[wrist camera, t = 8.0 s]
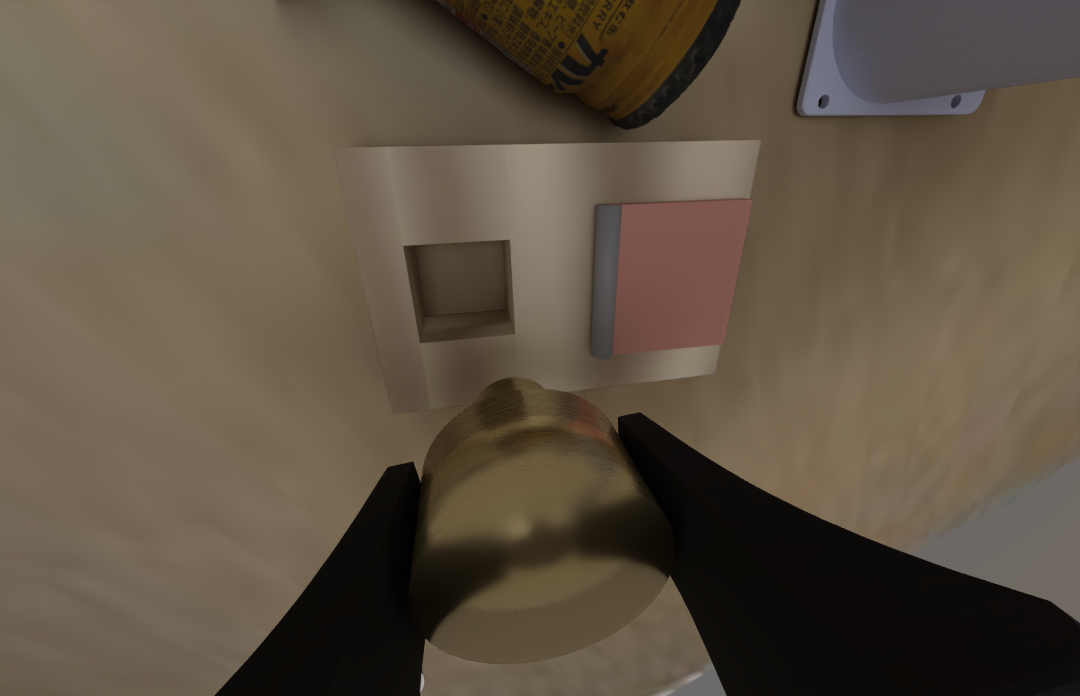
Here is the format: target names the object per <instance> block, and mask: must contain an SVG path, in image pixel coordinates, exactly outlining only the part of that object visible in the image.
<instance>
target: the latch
mask: <svg viewBox="0 0 1080 696" xmlns="http://www.w3.org/2000/svg"><path fill="white" fill-rule="evenodd" d="M752 203H753V199H745V198H736V199H712V200H688V201H663V202H639V203H615V204H599V205H597V210H596V236H595V262H594V289H593V315H592V341H591V355H592V357H594V358H597V359H608V358H611V357H612V355H618V354H628V353H639V352H649V351H660V350H670V349H680V348H691V347H701V346H712V345H722V344H724V341H725V336H726V331H727V326H728V321H729V316H730V312H731V307H732V302H733V297H734V292H735V287H736V282H737V277H738V272H739V267H740V262H741V257H742V252H743V247H744V242H745V237H746V232H747V227H748V222H749V217H750V212H751V208H752Z"/></svg>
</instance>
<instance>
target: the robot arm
mask: <svg viewBox="0 0 1080 696" xmlns="http://www.w3.org/2000/svg"><path fill="white" fill-rule="evenodd" d="M1076 77H1080V0H820V3H819V8H818V12H817V17H816V21H815V26H814V30H813V34H812V39H811V43H810V48H809V52H808V57H807V61H806V66H805V70H804V74H803V79H802V83H801V88H800V92H799V97H798V101H797V111H798V113H799V114H800V115H802V116H893V115H965V114H970V113H972V112H974V111H975V110H976V109H977V108H978V107H979V105H980V103H981V101H982V99H983V96H984V94H985V91H986V90H990V89H997V88H1005V87H1012V86H1019V85H1026V84H1033V83H1040V82H1048V81H1055V80H1062V79H1069V78H1076ZM820 97H821V99H822V103H821V105H820V107H819V106H818V101H819V99H820ZM618 435H619V437H620V439H621V441H622V442H623V444H624V446H625V448H626V449H627V451H628V453H629V454H630V456H631V458H632V460H633V461H634V463H635V465H636V467H637V468H638V470H639V472H640V473H641V475H642V477H643V479H644V480H645V482H646V484H647V486H648V487H649V489H650V491H651V492H652V494H653V496H654V498H655V499H656V501H657V503H658V505H659V506H660V508H661V510H662V511H663V513H664V515H665V517H666V518H667V520H668V522H669V524H670V526H671V528H672V530H673V534H674V537H675V546H676V552H675V560H674V564H673V567H672V571H671V573H670V576H671V578H672V580H673V581H674V583H675V585H676V587H677V588H678V590H679V592H680V594H681V596H682V598H683V600H684V602H685V604H686V606H687V608H688V610H689V612H690V614H691V616H692V618H693V620H694V623H695V625H696V627H697V629H698V631H699V634H700V636H701V638H702V640H703V643H704V645H705V647H706V649H707V651H708V654H709V656H710V658H711V660H712V663H713V665H714V667H715V670H716V672H717V674H718V676H719V679H720V681H721V684H722V686H723V688H724V691H725V693H726V695H727V696H1080V623H1079V622H1078V621H1076V620H1075V619H1073V618H1072V617H1071V616H1069V615H1068V614H1067V613H1065V612H1064V611H1063V610H1061V609H1060V608H1059V607H1057V606H1056V605H1055V604H1053V603H1052V602H1050V601H1048V600H1045V599H1042V598H1038V597H1035V596H1032V595H1029V594H1026V593H1022V592H1019V591H1016V590H1013V589H1010V588H1007V587H1004V586H1001V585H998V584H995V583H991V582H988V581H985V580H982V579H979V578H976V577H973V576H969V575H966V574H963V573H960V572H957V571H954V570H951V569H948V568H945V567H942V566H940V565H937V564H934V563H931V562H928V561H926V560H923V559H920V558H918V557H915V556H912V555H909V554H907V553H904V552H901V551H898V550H896V549H893V548H891V547H888V546H885V545H883V544H880V543H878V542H875V541H873V540H870V539H868V538H865V537H863V536H860V535H858V534H856V533H853V532H851V531H849V530H846V529H844V528H842V527H839V526H837V525H835V524H832V523H830V522H828V521H825V520H823V519H821V518H819V517H816V516H814V515H812V514H810V513H808V512H806V511H803V510H801V509H799V508H797V507H795V506H793V505H791V504H789V503H787V502H785V501H783V500H781V499H779V498H777V497H775V496H773V495H771V494H769V493H767V492H765V491H764V490H762V489H760V488H758V487H756V486H754V485H752V484H751V483H749V482H747V481H745V480H744V479H742V478H740V477H738V476H737V475H735V474H733V473H732V472H730V471H728V470H726V469H725V468H723V467H721V466H720V465H718V464H716V463H715V462H713V461H712V460H710V459H708V458H707V457H705V456H704V455H702V454H701V453H699V452H697V451H696V450H694V449H693V448H691V447H690V446H688V445H687V444H685V443H684V442H682V441H681V440H679V439H678V438H676V437H675V436H674V435H672V434H671V433H669V432H668V431H666V430H665V429H663V428H662V427H661V426H659V425H658V424H656V423H655V422H653V421H652V420H651V419H649V418H648V417H646V416H645V415H643V414H642V413H640V412H639V413H634V414H630V415H625V416H620V417H618ZM420 487H421V483H420V480H419V477H418V474H417V471H416V468H415V465H414V462H409V463H405V464H400V465H395V466H391V467H388V468H387V469H386V471H385V472H384V474H383V475H382V477H381V478H380V480H379V481H378V483H377V485H376V486H375V488H374V489H373V491H372V493H371V494H370V496H369V497H368V499H367V500H366V502H365V504H364V505H363V507H362V508H361V510H360V511H359V513H358V515H357V516H356V518H355V519H354V521H353V522H352V524H351V525H350V527H349V528H348V530H347V531H346V533H345V534H344V536H343V537H342V538H341V540H340V541H339V543H338V544H337V546H336V547H335V549H334V550H333V552H332V553H331V555H330V556H329V557H328V559H327V560H326V561H325V563H324V564H323V565H322V567H321V568H320V570H319V571H318V572H317V574H316V575H315V576H314V578H313V579H312V581H311V582H310V583H309V585H308V586H307V587H306V589H305V590H304V591H303V593H302V594H301V595H300V597H299V598H298V599H297V600H296V602H295V603H294V604H293V606H292V607H291V608H290V609H289V611H288V612H287V613H286V614H285V616H284V617H283V618H282V619H281V621H280V622H279V623H278V624H277V625H276V627H275V628H274V629H273V630H272V631H271V633H270V634H269V635H268V636H267V637H266V639H265V640H264V641H263V642H262V643H261V645H260V646H259V647H258V648H257V649H256V650H255V652H254V653H253V654H252V655H251V656H250V657H249V658H248V660H247V661H246V662H245V663H244V664H243V665H242V666H241V667H240V668H239V669H238V670H237V672H236V673H235V674H234V675H233V676H232V677H231V678H230V679H229V680H228V681H227V682H226V684H225V685H224V686H223V687H222V688H221V689H220V690H219V691H218V692H217V693H216V694H215V696H420V689H421V675H422V663H423V653H424V644H425V637H424V636H423V635H422V634H421V633H420V632H419V630H418V629H417V628H416V626H415V625H414V622H413V620H412V618H411V615H410V611H409V605H408V593H409V583H410V574H411V565H412V556H413V548H414V539H415V530H416V522H417V513H418V504H419V496H420Z"/></svg>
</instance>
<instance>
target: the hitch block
mask: <svg viewBox="0 0 1080 696" xmlns="http://www.w3.org/2000/svg"><path fill="white" fill-rule="evenodd" d="M760 145H761V140H732V141H677V142H622V143H567V144H513V145H458V146H403V147H348V148H332V150H333V155H334V159H335V163H336V168H337V172H338V177H339V181H340V185H341V190H342V194H343V199H344V203H345V207H346V212H347V216H348V221H349V225H350V229H351V234H352V238H353V243H354V247H355V251H356V256H357V260H358V265H359V269H360V273H361V278H362V282H363V287H364V291H365V295H366V300H367V304H368V309H369V313H370V317H371V322H372V326H373V331H374V335H375V339H376V344H377V348H378V353H379V357H380V361H381V366H382V370H383V375H384V379H385V383H386V388H387V392H388V397H389V401H390V405H391V410H392V414H394V413H402V412H410V411H418V410H426V409H434V408H442V407H450V406H458V405H467V404H474V402H475V400H476V398H477V397H478V395H479V394H480V393H481V391H483V390H484V389H485V388H486V387H487V386H489V385H490V384H492V383H494V382H496V381H498V380H501V379H505V378H511V377H521V378H526V379H530V380H532V381H534V382H536V383H538V384H539V385H541V386H542V387H543V388H544V389H552V390H558V391H563V392H572V391H580V390H588V389H596V388H604V387H612V386H621V385H629V384H637V383H645V382H653V381H661V380H669V379H677V378H685V377H693V376H702V375H710V374H715V372H716V367H717V361H718V356H719V351H720V346H721V345H712V346H701V347H691V348H680V349H670V350H660V351H649V352H639V353H628V354H618V355H612V357H611V358H608V359H597V358H594V357H592V355H591V341H592V315H593V289H594V262H595V236H596V210H597V205H599V204H615V203H639V202H663V201H688V200H712V199H736V198H745V199H750V195H751V190H752V185H753V180H754V175H755V170H756V165H757V160H758V155H759V150H760ZM496 240H503V253H504V269H505V284H506V300H507V310H499V311H488V312H476V313H464V314H453V315H441V316H430V317H425V311H424V304H423V298H422V292H421V286H420V280H419V273H418V267H417V261H416V255H415V249H414V245H426V244H444V243H461V242H478V241H496Z"/></svg>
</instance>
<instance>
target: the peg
mask: <svg viewBox="0 0 1080 696" xmlns="http://www.w3.org/2000/svg"><path fill="white" fill-rule="evenodd" d="M675 552H676V546H675V537H674V534H673V530H672V528H671V526H670V524H669V522H668V520H667V518H666V517H665V515H664V513H663V511H662V510H661V508H660V506H659V505H658V503H657V501H656V499H655V498H654V496H653V494H652V492H651V491H650V489H649V487H648V486H647V484H646V482H645V480H644V479H643V477H642V475H641V473H640V472H639V470H638V468H637V467H636V465H635V463H634V461H633V460H632V458H631V456H630V454H629V453H628V451H627V449H626V448H625V446H624V444H623V442H622V441H621V439H620V437H619V435H618V434H617V432H616V430H615V429H614V427H613V425H612V423H611V422H610V421H609V419H608V418H607V417H606V416H605V414H604V413H603V412H602V411H600V410H599V409H598V408H597V407H596V406H594V405H593V404H591V403H590V402H588V401H587V400H585V399H582V398H580V397H578V396H576V395H573V394H570V393H567V392H563V391H558V390H552V389H544V388H543V387H542V386H541V385H539V384H538V383H536V382H534V381H532V380H530V379H526V378H521V377H511V378H505V379H501V380H498V381H496V382H494V383H492V384H490V385H489V386H487V387H486V388H485V389H484V390H483V391H481V393H480V394H479V395H478V397H477V398H476V400H475V402H474V404H473V405H472V406H470V407H469V408H467V409H465V410H464V411H462V412H461V413H460V414H458V415H457V416H456V417H454V418H453V419H452V420H451V421H450V422H449V423H448V424H447V425H446V426H445V427H444V428H443V429H442V430H441V431H440V433H439V434H438V435H437V436H436V438H435V439H434V441H433V443H432V444H431V446H430V448H429V450H428V453H427V455H426V457H425V461H424V465H423V470H422V478H421V487H420V496H419V504H418V513H417V522H416V530H415V539H414V548H413V556H412V565H411V574H410V583H409V593H408V605H409V611H410V615H411V618H412V620H413V622H414V625H415V626H416V628H417V629H418V630H419V632H420V633H421V634H422V635H423V636H424V637H425V638H426V639H427V640H428V641H429V642H430V643H431V644H433V645H434V646H436V647H437V648H439V649H440V650H442V651H444V652H446V653H448V654H451V655H453V656H456V657H459V658H462V659H466V660H470V661H475V662H482V663H490V664H519V663H528V662H536V661H541V660H546V659H551V658H555V657H559V656H562V655H566V654H569V653H572V652H575V651H578V650H580V649H583V648H585V647H588V646H590V645H592V644H595V643H597V642H599V641H600V640H602V639H604V638H606V637H608V636H610V635H612V634H613V633H615V632H617V631H618V630H620V629H621V628H623V627H624V626H625V625H627V624H628V623H630V622H631V621H632V620H634V619H635V618H636V617H637V616H638V615H639V614H641V613H642V612H643V611H644V610H645V609H646V608H647V607H648V606H649V605H650V604H651V603H652V602H653V600H654V599H655V598H656V597H657V595H658V594H659V593H660V591H661V590H662V588H663V587H664V585H665V583H666V582H667V580H668V578H669V575H670V573H671V571H672V567H673V564H674V560H675Z"/></svg>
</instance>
